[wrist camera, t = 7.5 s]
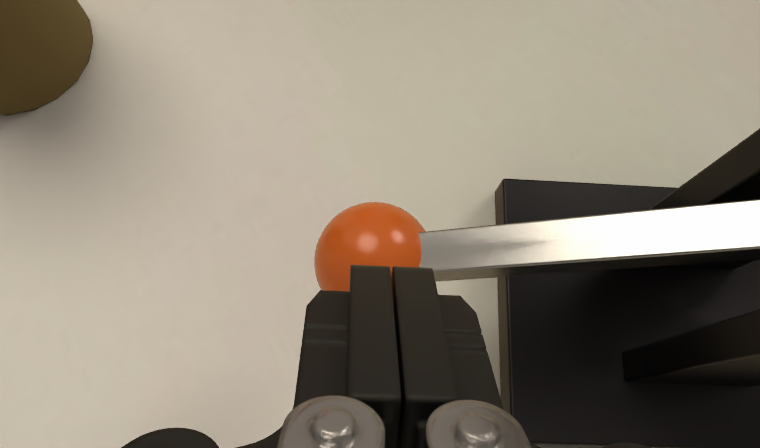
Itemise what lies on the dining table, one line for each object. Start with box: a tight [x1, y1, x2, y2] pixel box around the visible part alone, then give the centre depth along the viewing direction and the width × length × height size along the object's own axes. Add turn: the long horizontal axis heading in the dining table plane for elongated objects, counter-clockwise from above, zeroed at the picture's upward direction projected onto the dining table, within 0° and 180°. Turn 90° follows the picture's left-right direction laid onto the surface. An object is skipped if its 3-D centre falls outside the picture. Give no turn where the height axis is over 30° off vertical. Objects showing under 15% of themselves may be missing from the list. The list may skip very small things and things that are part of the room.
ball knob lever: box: [315, 199, 760, 291], centre depth 15 cm, size 15×3×3 cm, turn 89°
